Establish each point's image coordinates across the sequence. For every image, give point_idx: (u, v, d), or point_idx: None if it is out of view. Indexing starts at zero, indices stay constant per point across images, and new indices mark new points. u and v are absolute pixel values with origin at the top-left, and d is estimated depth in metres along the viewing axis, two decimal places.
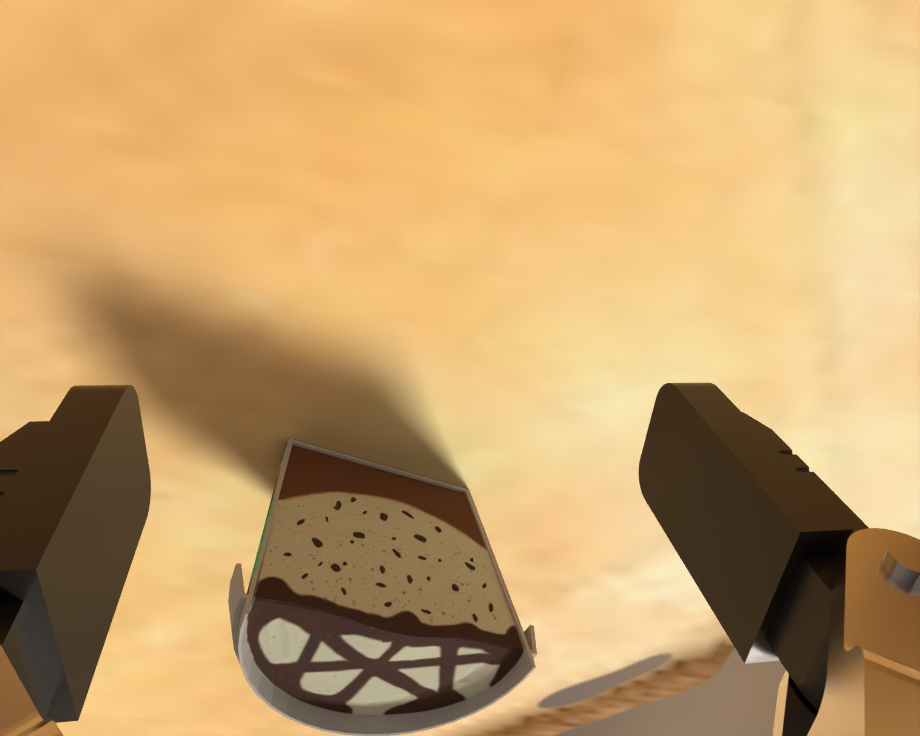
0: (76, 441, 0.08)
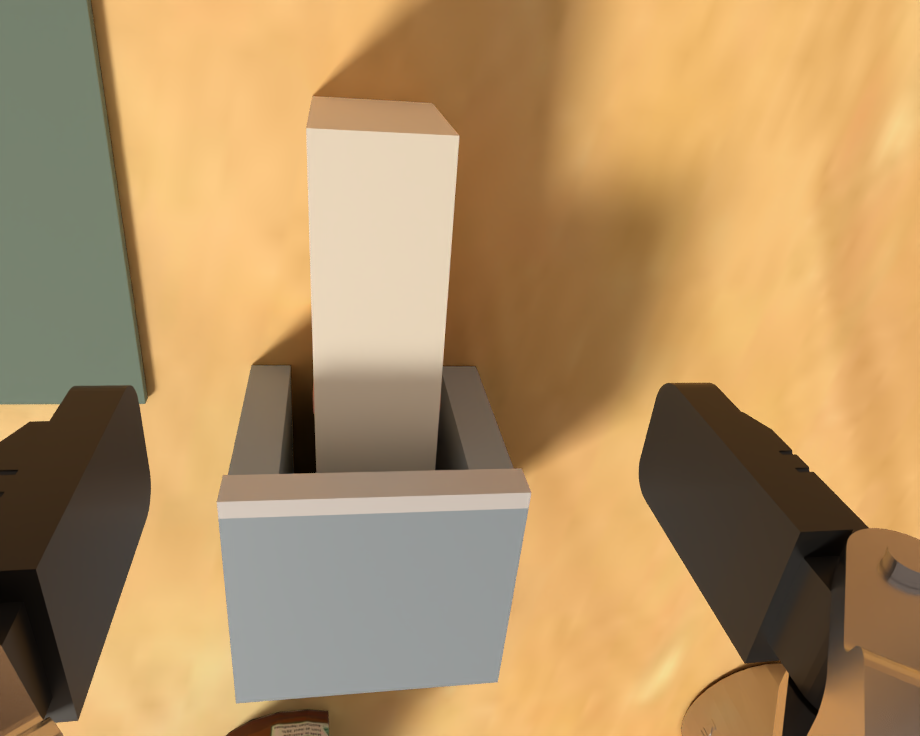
0: (76, 441, 0.08)
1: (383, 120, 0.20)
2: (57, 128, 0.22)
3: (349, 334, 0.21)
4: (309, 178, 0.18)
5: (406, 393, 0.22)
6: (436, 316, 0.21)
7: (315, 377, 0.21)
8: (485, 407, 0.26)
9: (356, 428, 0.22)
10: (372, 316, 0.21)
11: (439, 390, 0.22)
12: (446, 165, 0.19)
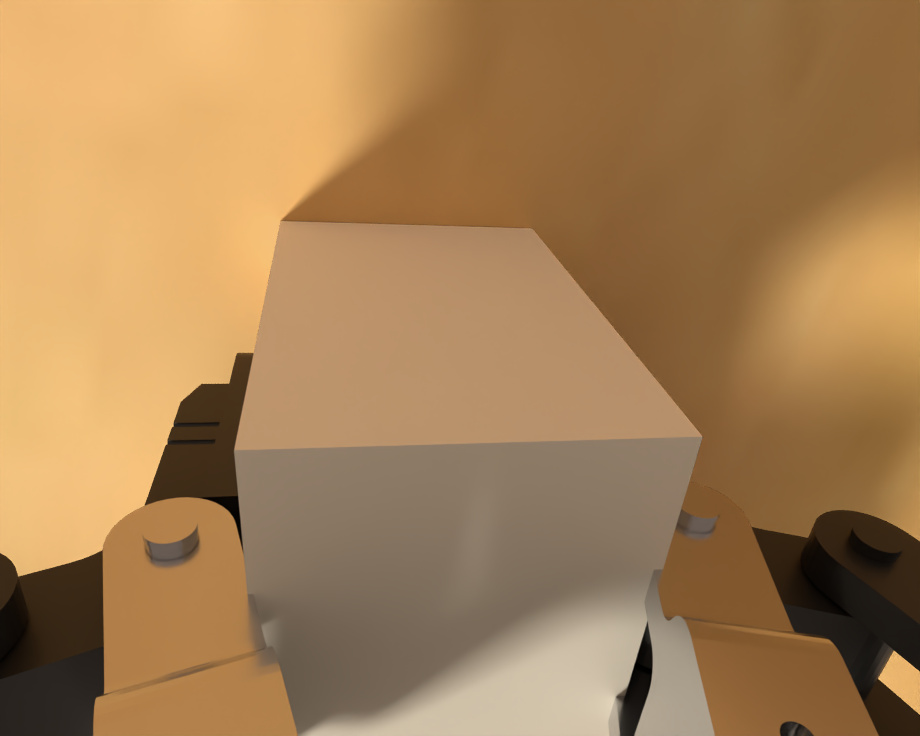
0: None
1: (459, 346, 0.07)
2: None
3: None
4: (250, 572, 0.06)
5: None
6: None
7: None
8: None
9: None
10: None
11: None
12: (652, 507, 0.06)
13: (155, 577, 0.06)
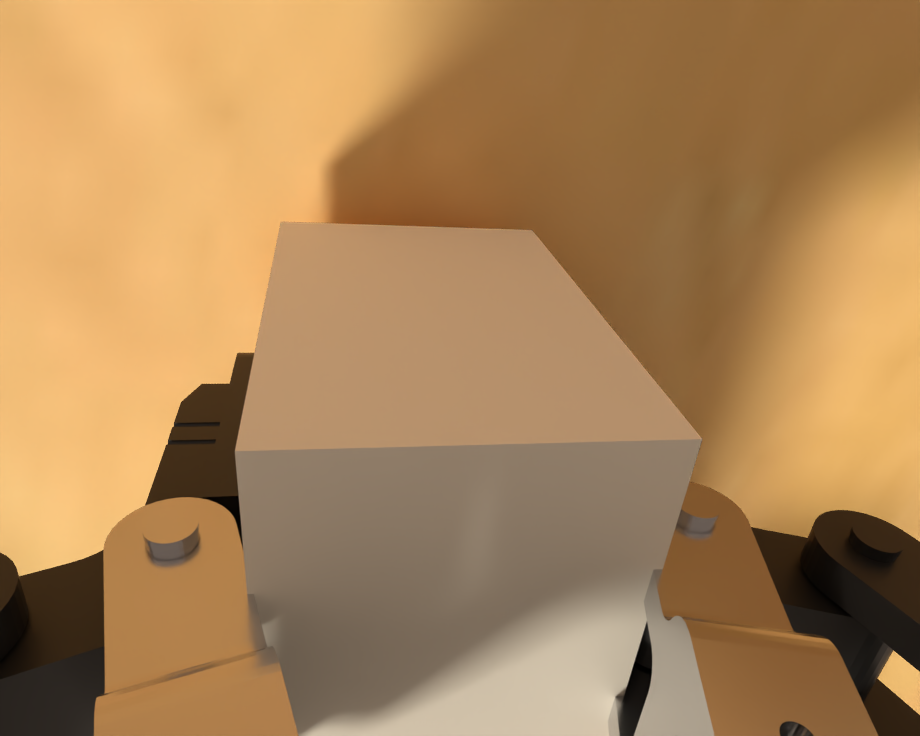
0: None
1: (459, 347, 0.07)
2: None
3: None
4: (250, 572, 0.06)
5: None
6: None
7: None
8: None
9: None
10: None
11: None
12: (652, 509, 0.06)
13: (155, 577, 0.06)
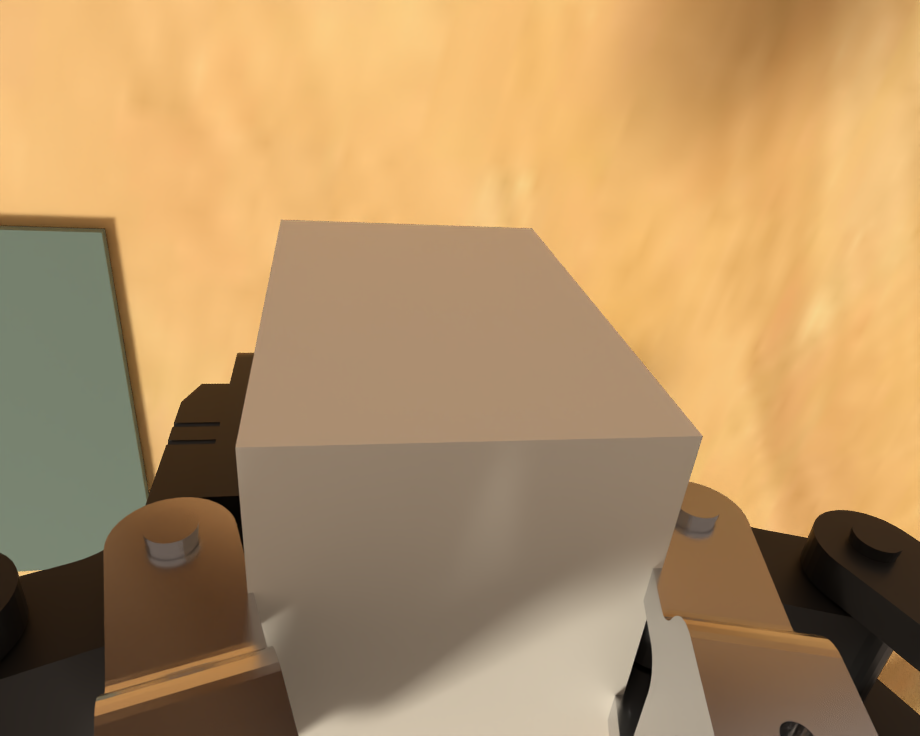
0: None
1: (459, 345, 0.07)
2: (81, 360, 0.25)
3: None
4: (250, 569, 0.06)
5: None
6: None
7: None
8: None
9: None
10: None
11: None
12: (652, 507, 0.06)
13: (155, 577, 0.06)
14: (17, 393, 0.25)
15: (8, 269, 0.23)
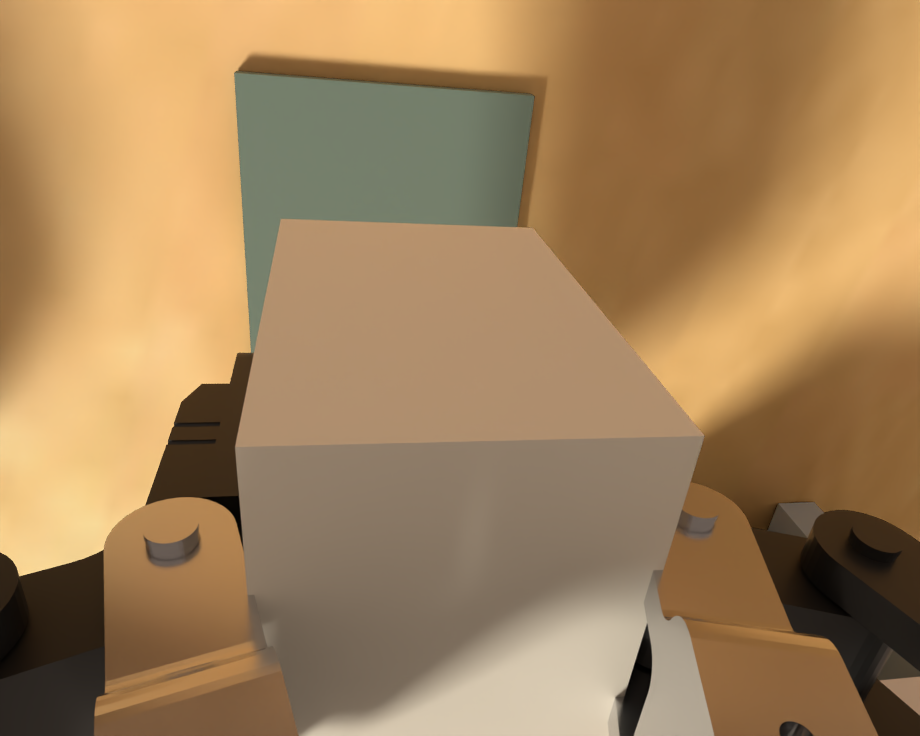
0: None
1: (460, 344, 0.07)
2: None
3: None
4: (250, 569, 0.06)
5: None
6: None
7: None
8: None
9: None
10: None
11: None
12: (654, 507, 0.06)
13: (156, 577, 0.06)
14: None
15: (404, 146, 0.17)
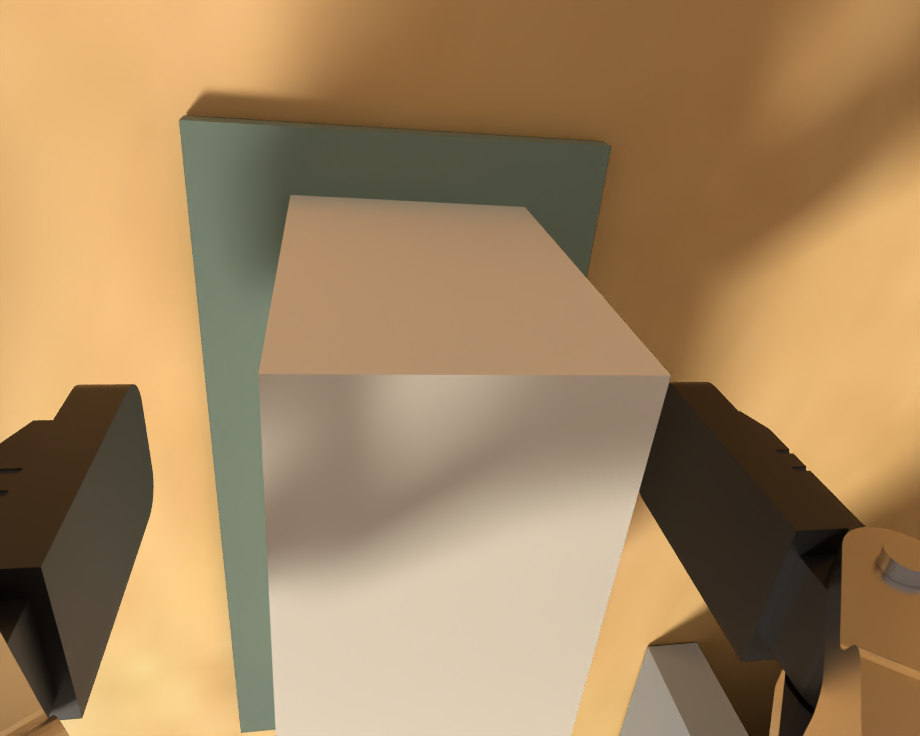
0: (80, 440, 0.08)
1: (456, 300, 0.08)
2: None
3: None
4: (268, 488, 0.07)
5: None
6: (557, 714, 0.09)
7: None
8: None
9: None
10: (417, 727, 0.09)
11: None
12: (626, 441, 0.07)
13: None
14: None
15: None
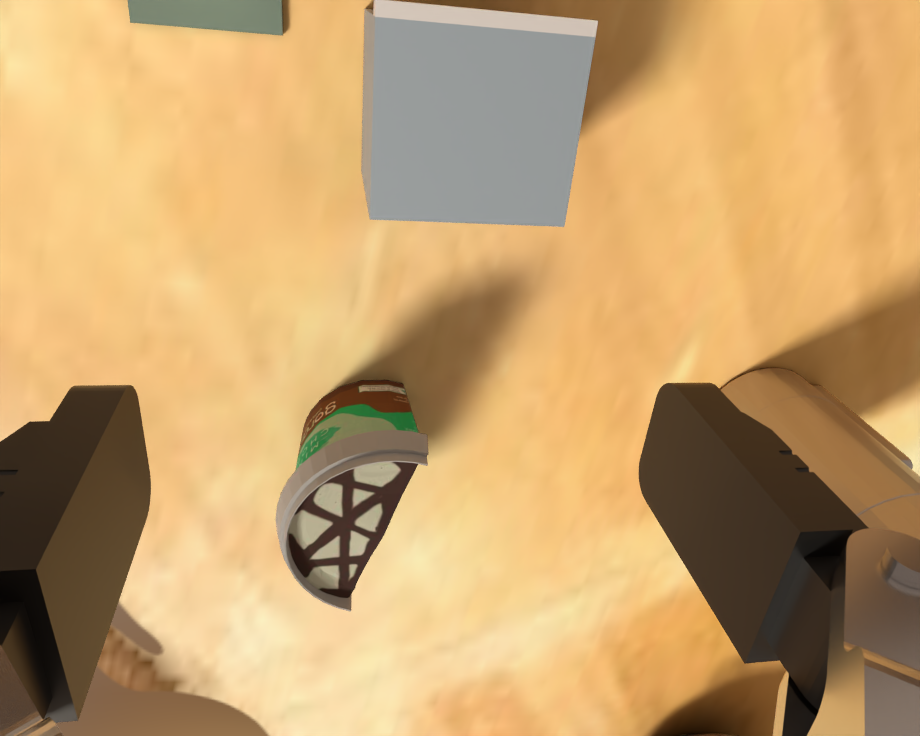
0: (76, 441, 0.08)
1: None
2: None
3: None
4: None
5: None
6: None
7: None
8: None
9: None
10: None
11: None
12: None
13: None
14: None
15: None
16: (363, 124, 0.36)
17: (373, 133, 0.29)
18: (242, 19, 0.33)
